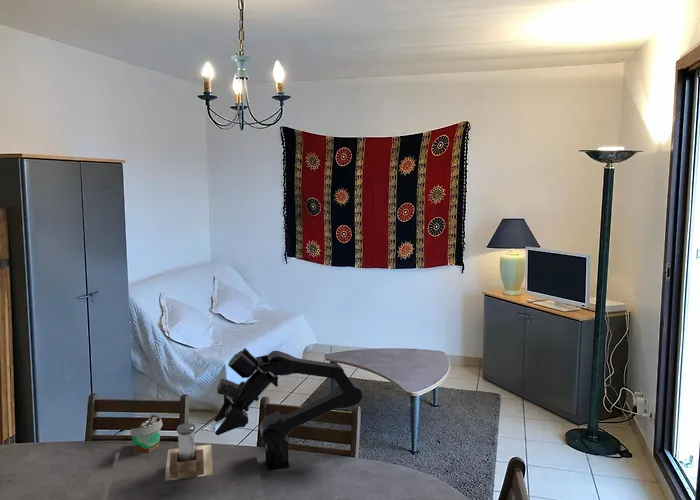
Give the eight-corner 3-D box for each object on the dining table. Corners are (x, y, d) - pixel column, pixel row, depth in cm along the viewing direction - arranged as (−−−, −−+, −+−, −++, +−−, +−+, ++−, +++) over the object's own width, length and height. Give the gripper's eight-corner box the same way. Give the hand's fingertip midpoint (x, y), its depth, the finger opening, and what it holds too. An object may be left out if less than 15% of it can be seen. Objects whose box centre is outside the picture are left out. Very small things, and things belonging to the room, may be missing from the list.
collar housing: (211, 449, 179) (210, 432, 178) (212, 479, 161) (212, 461, 160) (168, 454, 176) (167, 437, 175) (164, 485, 157) (164, 467, 157)
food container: (150, 462, 170) (148, 431, 169) (131, 460, 171) (130, 429, 170) (170, 444, 182) (169, 414, 181) (153, 442, 183) (152, 412, 182)
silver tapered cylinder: (196, 464, 166) (195, 422, 164) (196, 473, 161) (195, 429, 160) (178, 466, 165) (177, 424, 163) (178, 475, 160) (176, 431, 158)
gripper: (231, 360, 172) (194, 398, 170) (235, 381, 154) (194, 424, 153) (257, 382, 175) (222, 420, 173) (264, 406, 157) (225, 448, 156)
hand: (215, 427), depth 164 cm, fingers open, 9 cm apart
